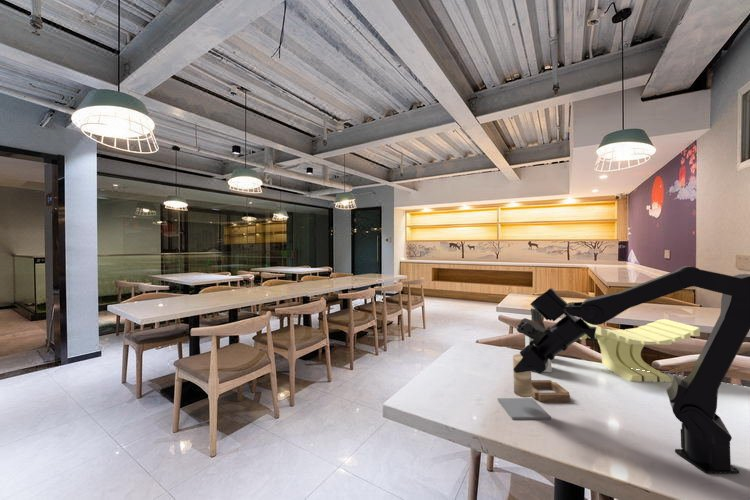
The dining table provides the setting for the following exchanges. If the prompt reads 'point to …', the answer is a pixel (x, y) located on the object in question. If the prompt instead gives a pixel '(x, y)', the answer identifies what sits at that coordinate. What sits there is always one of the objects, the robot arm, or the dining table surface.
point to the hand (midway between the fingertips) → (516, 368)
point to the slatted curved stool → (639, 347)
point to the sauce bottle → (537, 317)
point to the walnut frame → (556, 396)
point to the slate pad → (523, 408)
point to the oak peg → (521, 380)
